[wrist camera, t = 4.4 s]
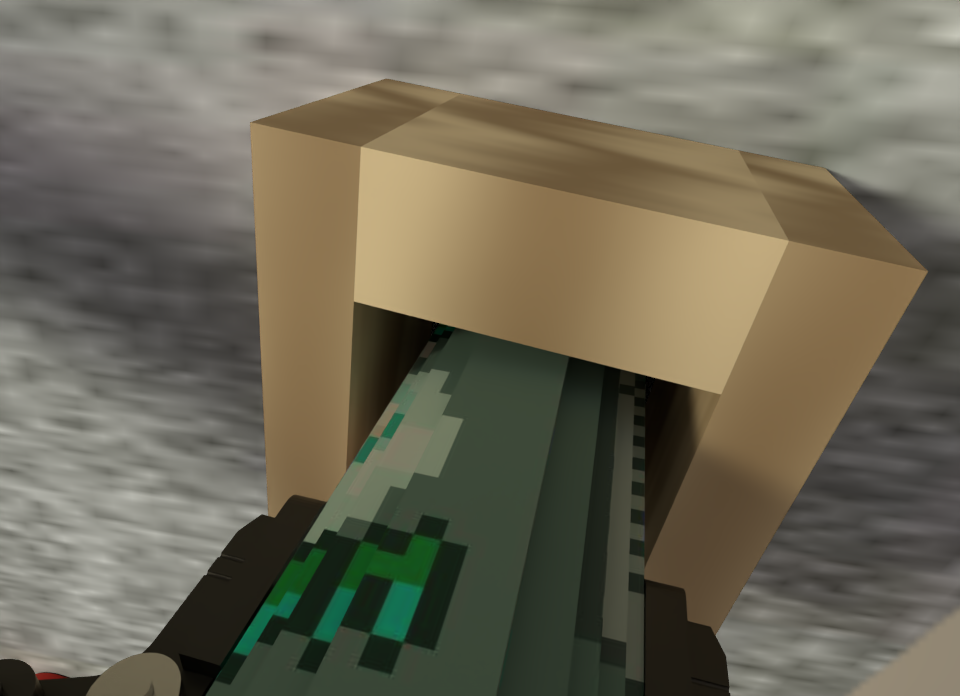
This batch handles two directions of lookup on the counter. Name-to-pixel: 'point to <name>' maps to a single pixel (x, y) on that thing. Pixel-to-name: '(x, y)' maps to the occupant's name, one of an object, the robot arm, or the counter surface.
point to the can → (471, 540)
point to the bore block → (571, 296)
